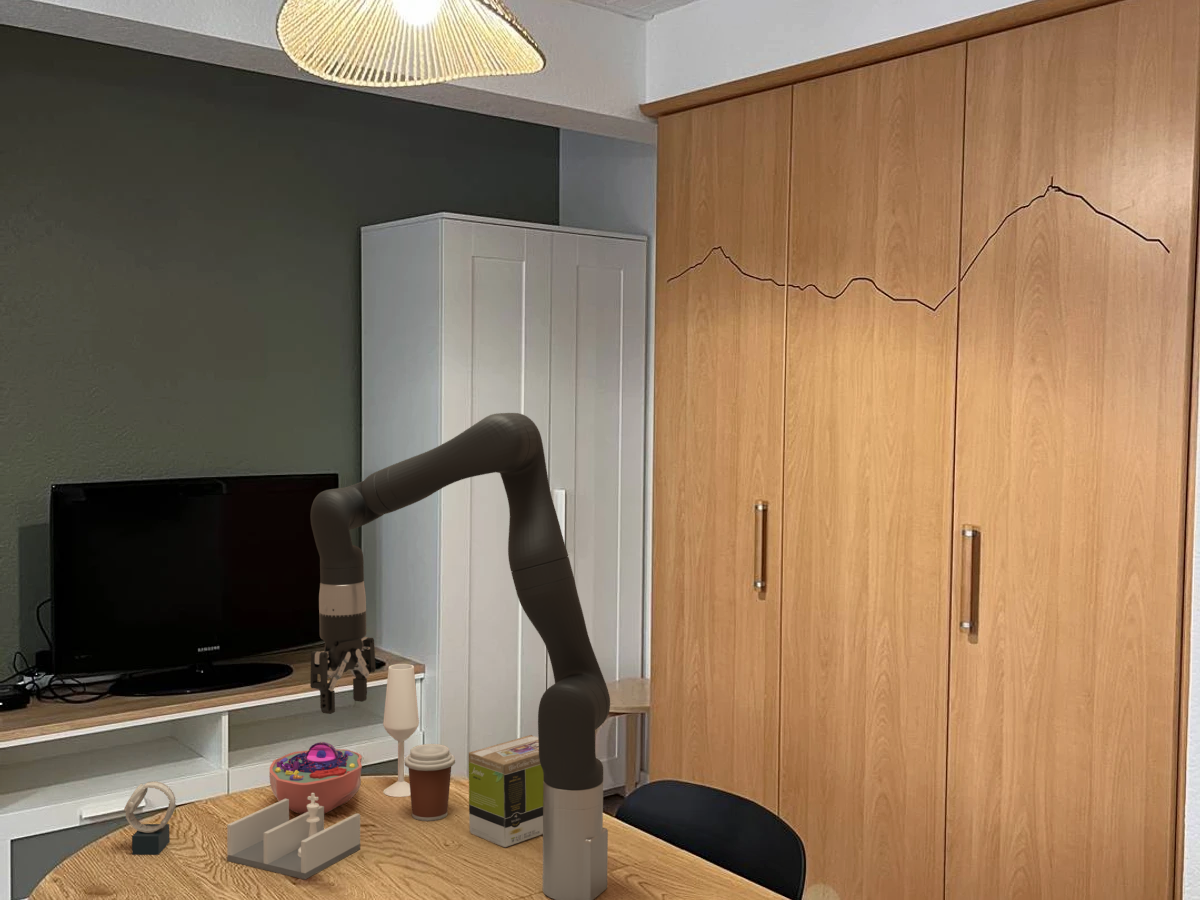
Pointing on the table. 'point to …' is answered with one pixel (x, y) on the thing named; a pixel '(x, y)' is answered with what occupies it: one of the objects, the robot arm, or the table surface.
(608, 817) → the table surface
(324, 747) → the cell model
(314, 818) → the chess piece
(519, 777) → the tea box
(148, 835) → the watch
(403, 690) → the champagne flute
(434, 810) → the coffee cup
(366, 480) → the robot arm
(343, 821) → the slot rack
